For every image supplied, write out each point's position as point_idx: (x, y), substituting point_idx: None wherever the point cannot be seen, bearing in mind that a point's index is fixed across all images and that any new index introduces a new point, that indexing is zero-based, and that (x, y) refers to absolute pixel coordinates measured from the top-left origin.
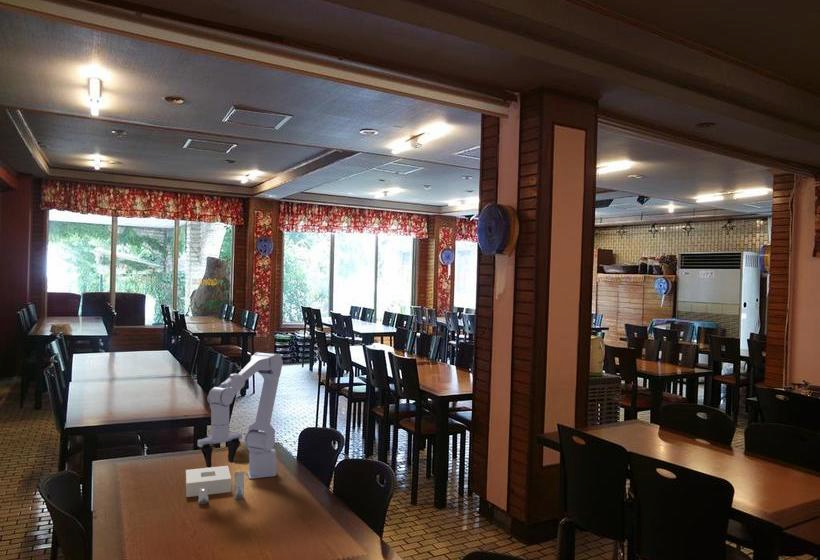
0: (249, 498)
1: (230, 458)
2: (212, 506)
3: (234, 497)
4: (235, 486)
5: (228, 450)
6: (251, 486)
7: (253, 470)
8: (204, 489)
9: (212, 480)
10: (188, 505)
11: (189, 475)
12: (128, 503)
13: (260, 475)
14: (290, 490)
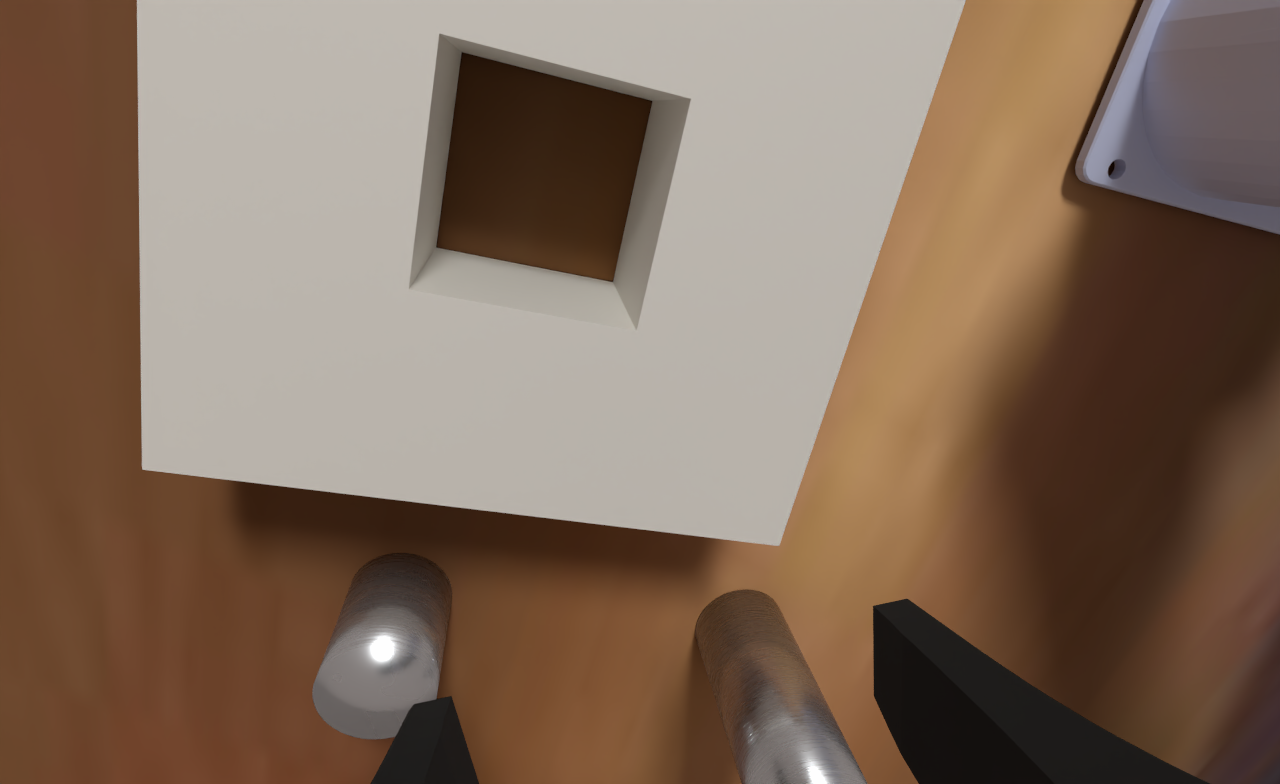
0: None
1: (913, 734)
2: (464, 716)
3: (697, 635)
4: (729, 742)
5: (1023, 766)
6: (964, 407)
7: (1215, 145)
8: (388, 695)
9: (537, 516)
10: (241, 616)
11: (206, 82)
12: None
13: (1209, 197)
14: (1151, 647)
